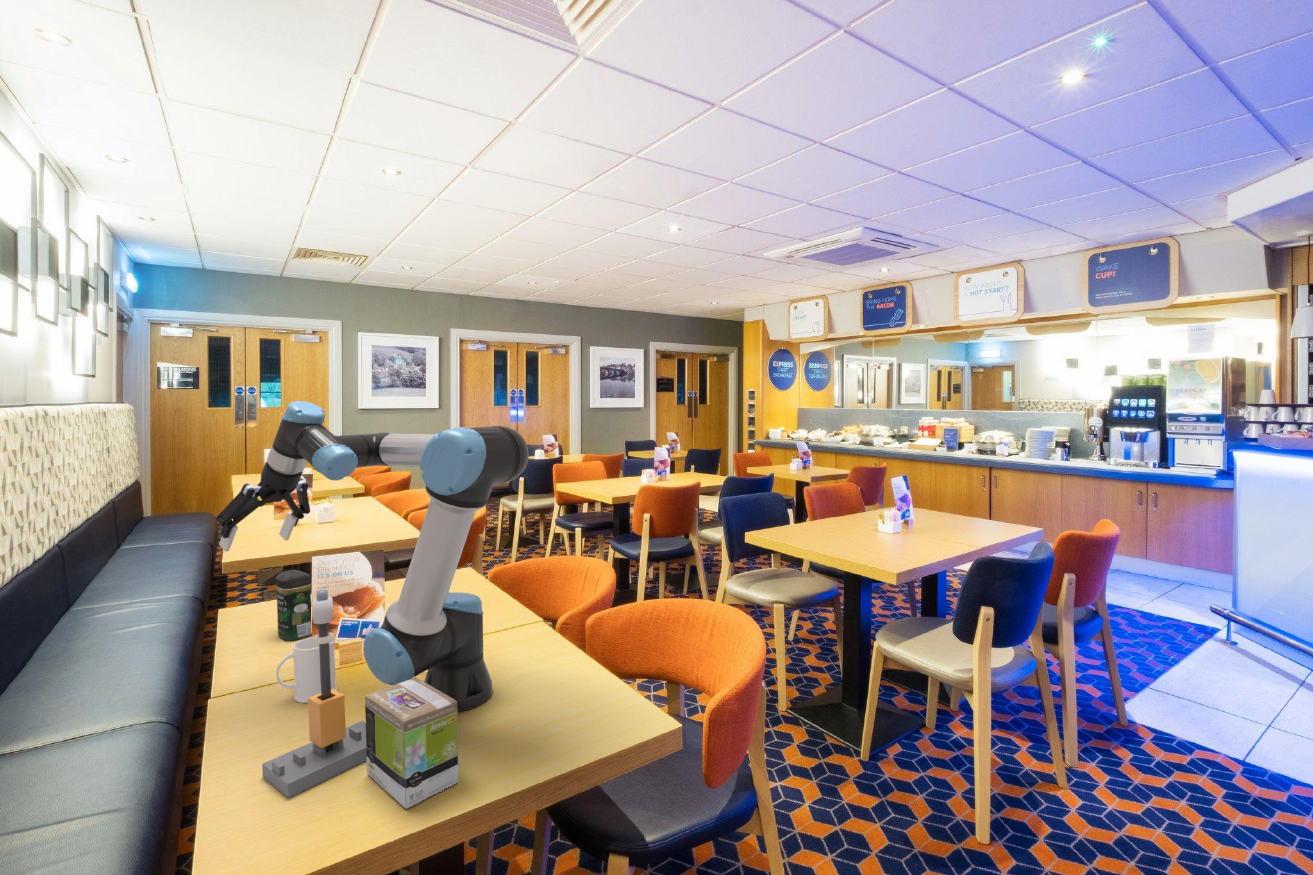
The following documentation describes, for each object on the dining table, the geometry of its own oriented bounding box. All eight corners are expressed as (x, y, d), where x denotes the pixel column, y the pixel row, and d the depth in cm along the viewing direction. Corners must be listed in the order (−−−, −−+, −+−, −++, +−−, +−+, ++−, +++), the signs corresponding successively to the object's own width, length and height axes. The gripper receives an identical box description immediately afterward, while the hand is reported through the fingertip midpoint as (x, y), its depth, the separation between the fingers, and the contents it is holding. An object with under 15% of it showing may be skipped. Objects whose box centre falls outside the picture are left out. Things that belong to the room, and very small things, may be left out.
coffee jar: (274, 635, 175) (271, 571, 173) (304, 627, 181) (301, 565, 180) (286, 644, 168) (283, 577, 167) (317, 635, 174) (314, 571, 173)
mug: (278, 711, 131) (275, 656, 130) (276, 696, 138) (273, 644, 137) (339, 696, 138) (337, 644, 137) (334, 682, 145) (332, 632, 144)
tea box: (461, 782, 106) (459, 699, 105) (404, 811, 98) (402, 722, 98) (419, 750, 116) (416, 674, 115) (365, 774, 108) (362, 693, 108)
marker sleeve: (334, 729, 115) (332, 688, 114) (346, 737, 112) (344, 694, 112) (309, 740, 111) (307, 697, 111) (321, 748, 109) (319, 704, 108)
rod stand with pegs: (362, 732, 122) (357, 575, 120) (390, 749, 116) (384, 583, 115) (262, 777, 108) (254, 599, 106) (288, 798, 102) (279, 610, 100)
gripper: (325, 454, 149) (297, 524, 154) (216, 460, 126) (186, 542, 132) (344, 471, 147) (314, 542, 152) (235, 480, 124) (204, 563, 129)
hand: (255, 542), depth 142 cm, fingers open, 13 cm apart
